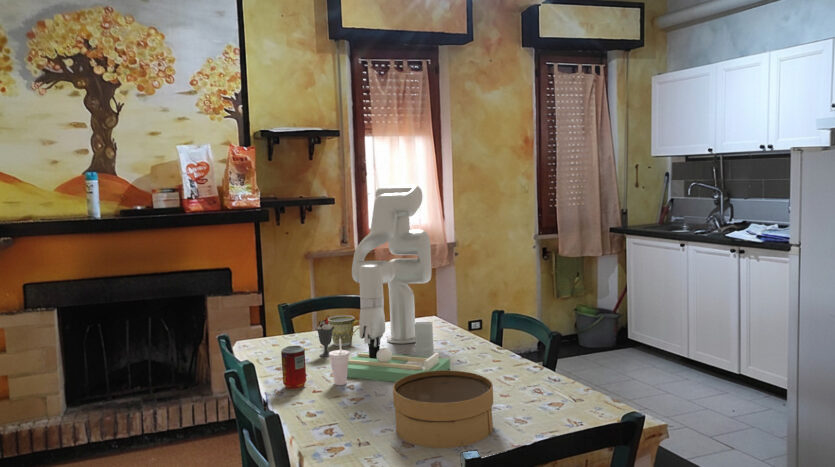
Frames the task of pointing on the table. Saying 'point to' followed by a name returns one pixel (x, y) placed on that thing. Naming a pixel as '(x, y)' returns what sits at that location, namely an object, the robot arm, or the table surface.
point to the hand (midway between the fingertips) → (374, 357)
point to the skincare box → (424, 339)
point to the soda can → (293, 367)
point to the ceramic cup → (342, 329)
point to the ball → (384, 355)
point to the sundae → (325, 335)
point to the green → (394, 366)
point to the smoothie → (339, 365)
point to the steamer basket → (443, 408)
